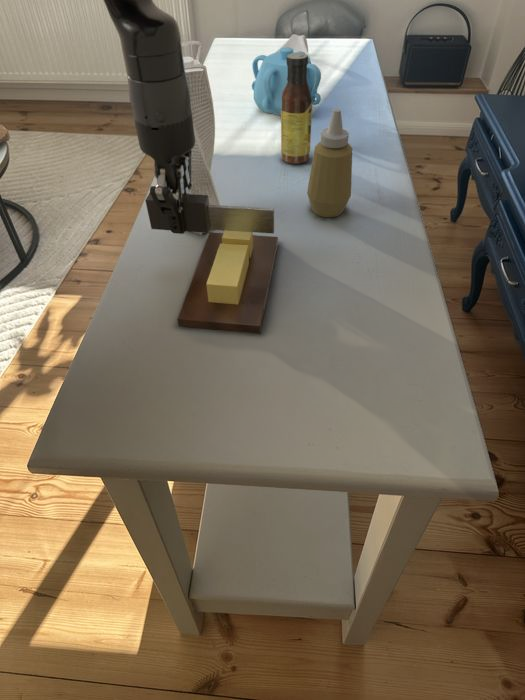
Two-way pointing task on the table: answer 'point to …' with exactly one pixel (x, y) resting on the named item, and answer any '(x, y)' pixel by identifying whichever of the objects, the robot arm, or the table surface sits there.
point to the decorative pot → (279, 80)
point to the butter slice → (238, 239)
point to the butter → (228, 274)
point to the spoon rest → (297, 44)
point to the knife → (214, 216)
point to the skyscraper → (201, 127)
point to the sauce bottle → (296, 111)
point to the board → (252, 297)
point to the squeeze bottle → (331, 170)
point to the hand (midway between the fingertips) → (181, 226)
